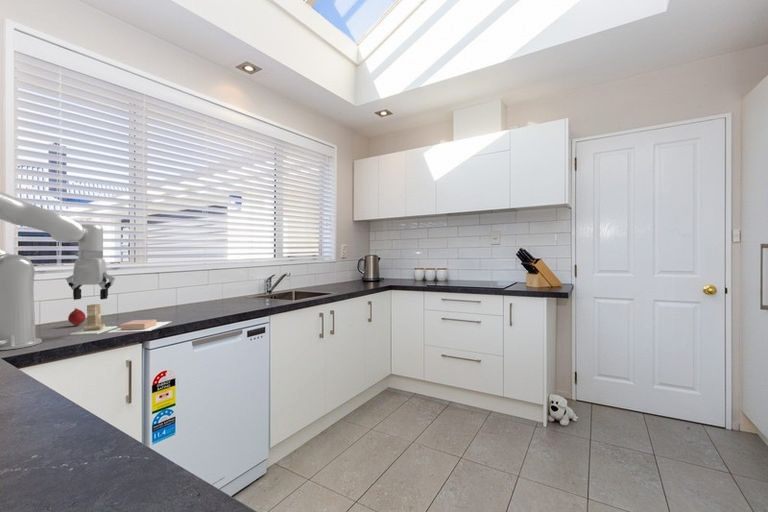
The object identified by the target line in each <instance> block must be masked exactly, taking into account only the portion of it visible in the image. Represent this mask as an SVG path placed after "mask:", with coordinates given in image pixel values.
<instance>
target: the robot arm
mask: <svg viewBox="0 0 768 512" xmlns="http://www.w3.org/2000/svg"><path fill="white" fill-rule="evenodd" d="M0 220H2V221H4V222H7V223H10V224H12V225H16V226H20V227H27V228H32V229H35V230H39V231H42V232H45V233H47V234H49V235H50V237H51V238H52V239H53V240H54V241H56V242H59V243H72V242H73V243H76V242H77V243H78V252H75V256H76V257H78V259H75V261H74V265H73V273H72V275H71V276H68V277H66V278H65V281H66V282H67V284H68V286H69V287H70V288H71V290H72V297H73V300H81V299H82V287H83V285H84V286H85V285H87V286H88V285H90V286H93V285H94V286H95V285H98V286H99V287H100V288H101V289H99V294H100V295H99V298H100V300H107V299H108V297H109V296H108V295H109V289H110V288H111V287H112V286H113V284H114V281H116V278H115V276H112V275H110V274H108V272H107V271H108V269H107V264H106V260H105V258H104V228H103V226H101V224H91V223H90V224H89V223H87V224H85V223H83V224H81V223H79V222H77V221H75V220H73V219H70V218H69V217H66V216H63V215H62V214H59V213H56V212H54V211H51V210H48V209H46V208H42V207H41V206H37V205H35V204H32V203H29V202H26V201H25V200H22V199H19V198H18V197H14V196H13V195H10V194H9V193H5V192H3V191H1V190H0ZM35 271H36V270H35V266H34V264H33V262H32V261H31V260H30V259H29V258H28V257H26V256H24V255H21V254H11V253H9V252H7V251H5V250H3V249H1V248H0V351H8V350H10V351H11V350H17V349H22V348H28V347H32V346H36V345H39V344H42V341H43V339H42V338H40V337H36V321H35V320H36V319H35V316H36V315H35V299H34V298H35V297H34V295H35V294H34V293H35V292H34V291H35V290H34V285H35V284H34V283H35V273H36V272H35Z"/></svg>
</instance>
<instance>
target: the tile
mask: <svg viewBox="0 0 768 512" xmlns="http://www.w3.org/2000/svg"><path fill="white" fill-rule="evenodd" d="M157 322H158V321H157V319H135V320H134V319H133V320H131V321H127V322H125V323H122V324H120V328H121V330H139V329H146V328H149V327H151V326H154V325H156V324H157Z"/></svg>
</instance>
